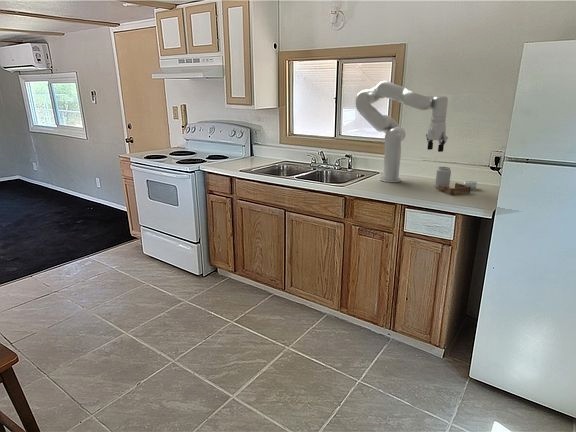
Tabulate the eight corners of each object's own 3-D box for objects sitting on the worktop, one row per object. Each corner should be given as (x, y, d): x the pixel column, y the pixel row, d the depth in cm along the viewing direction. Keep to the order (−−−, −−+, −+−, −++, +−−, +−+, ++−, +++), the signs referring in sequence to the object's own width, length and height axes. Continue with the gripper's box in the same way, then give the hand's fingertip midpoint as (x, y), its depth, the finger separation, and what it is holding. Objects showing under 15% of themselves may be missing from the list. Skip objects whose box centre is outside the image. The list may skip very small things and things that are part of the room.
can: (438, 185, 228) (440, 165, 224) (451, 188, 223) (453, 167, 219) (432, 188, 223) (434, 167, 219) (445, 190, 218) (447, 169, 214)
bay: (438, 190, 217) (439, 184, 216) (456, 188, 221) (457, 182, 220) (451, 195, 208) (452, 189, 207) (469, 193, 212) (470, 186, 211)
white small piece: (459, 188, 223) (460, 181, 222) (469, 187, 225) (470, 180, 224) (468, 191, 217) (469, 184, 216) (478, 189, 219) (479, 182, 218)
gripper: (422, 118, 226) (419, 148, 231) (443, 120, 210) (440, 153, 216) (433, 118, 228) (430, 148, 234) (455, 120, 213) (451, 152, 218)
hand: (435, 150), depth 225 cm, fingers open, 8 cm apart
